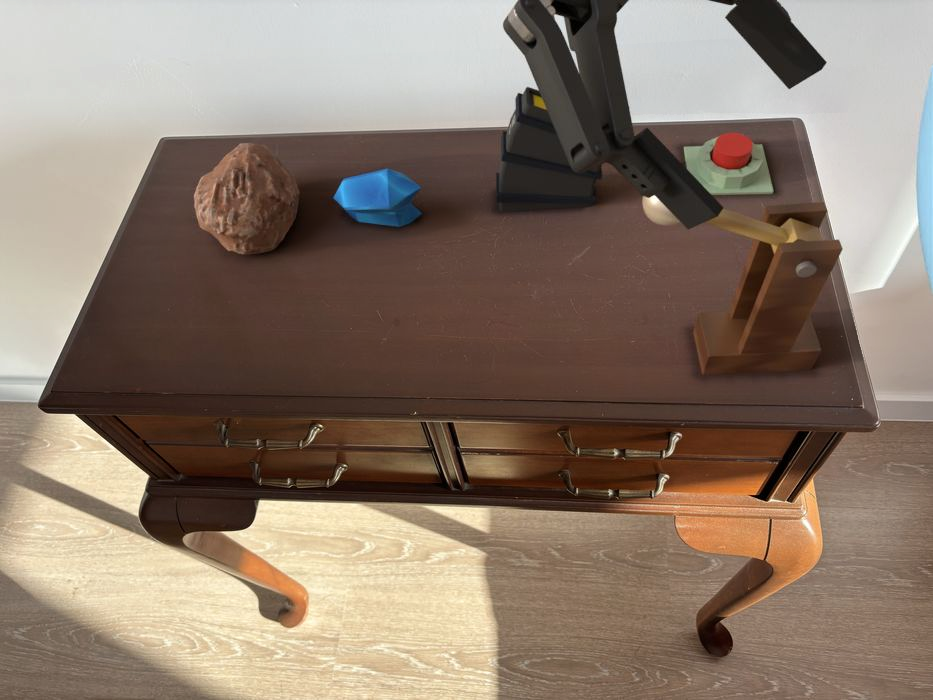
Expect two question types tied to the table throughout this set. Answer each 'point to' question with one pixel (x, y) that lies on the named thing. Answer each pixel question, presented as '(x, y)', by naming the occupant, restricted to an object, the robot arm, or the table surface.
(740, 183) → the button box
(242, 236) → the decorative rock
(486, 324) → the table surface
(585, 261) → the table surface
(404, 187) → the crystal
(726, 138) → the red button
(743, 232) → the switch lever
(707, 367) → the switch bracket
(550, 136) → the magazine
